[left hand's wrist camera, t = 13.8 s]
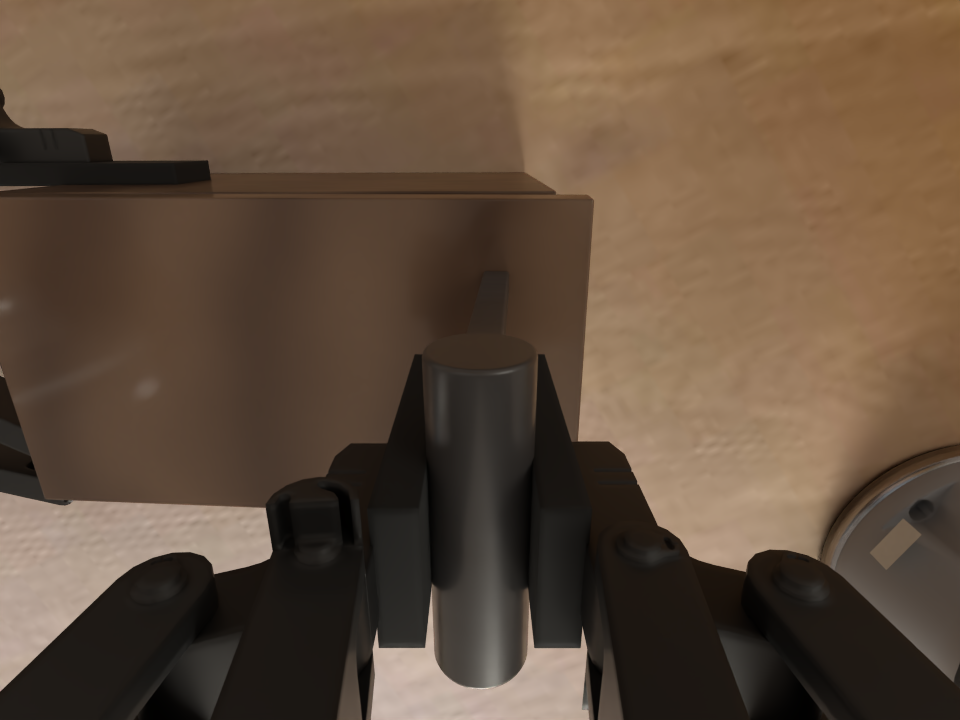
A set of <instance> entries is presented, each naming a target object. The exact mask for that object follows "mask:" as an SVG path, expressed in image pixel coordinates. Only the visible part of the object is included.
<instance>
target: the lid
mask: <svg viewBox="0 0 960 720" xmlns="http://www.w3.org/2000/svg"><path fill="white" fill-rule="evenodd" d="M593 208H594V200H593V199H592V198H591V197H590V196H588V195H473V194H108V193H0V365H1V368H2V371H3V374H4V377H5V380H6V383H7V386H8V389H9V392H10V395H11V398H12V401H13V404H14V407H15V410H16V413H17V416H18V419H19V422H20V425H21V428H22V431H23V434H24V437H25V440H26V443H27V446H28V449H29V452H30V455H31V458H32V461H33V464H34V467H35V470H36V473H37V476H38V479H39V482H40V485H41V488H42V491H43V494H44V497H45V499H53V500H79V501H105V502H130V503H156V504H182V505H207V506H233V507H259V508H266V506H265V504H266V503H267V501H268V500H269V499H270V497H271V496H272V495H273V494H274V493H275V492H277V491H278V490H280V489H282V488H283V487H285V486H286V485H289V484H291V483H294V482H297V481H300V480H302V479H308V478H315V477H326V475H327V474H328V470H329V468H330V466H331V464H332V462H333V459H334V457H335V456H336V455H337V454H338V453H339V452H341V451H342V450H343V449H344V448H346V447H347V446H348V445H349V444H351V443H388V439H389V436H390V433H391V430H392V426H393V423H394V420H395V417H396V413H397V410H398V407H399V404H400V400H401V397H402V394H403V391H404V387H405V384H406V381H407V378H408V374H409V371H410V368H411V365H412V361H413V358H414V355H415V354H422V373H423V396H424V419H425V442H426V457H427V472H428V497H429V522H430V546H431V571H432V605H433V628H434V651H435V657H436V661H437V663H438V665H439V667H440V668H441V670H442V671H443V672H444V674H445V675H446V676H447V677H448V678H449V679H451V680H452V681H454V682H455V683H457V684H459V685H461V686H464V687H467V688H471V689H490V688H494V687H498V686H500V685H503V684H505V683H507V682H508V681H510V680H511V679H512V678H513V677H514V676H516V675H517V673H518V672H519V671H520V669H521V668H522V666H523V665H524V662H525V660H526V656H527V646H528V618H529V593H528V572H529V546H530V520H531V493H532V467H533V458H534V453H535V427H536V400H537V373H538V354H545V357H546V360H547V364H548V367H549V370H550V373H551V377H552V380H553V383H554V386H555V390H556V393H557V396H558V399H559V403H560V406H561V409H562V412H563V416H564V419H565V422H566V425H567V428H568V432H569V435H570V438H571V441H572V442H578V430H579V415H580V400H581V386H582V371H583V356H584V341H585V327H586V312H587V297H588V282H589V267H590V253H591V238H592V223H593Z"/></svg>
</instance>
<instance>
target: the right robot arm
mask: <svg viewBox="0 0 960 720" xmlns="http://www.w3.org/2000/svg"><path fill="white" fill-rule="evenodd" d="M4 104H5V97H4V95H3V92H2V90H1V89H0V186H57V185H178V184H185V183H192V182H199V181H206V180H211V176H210V170H209V164H208V161H113V159H112V155H111V151H110V146H109V142H108V137H107V135H106V134H104V133H101V132H99V131H96V130H93V129H74V128H22V127H20V126H18V125H17V124H15V123H14V122H13V121H12V120H11V119H10V118H9V117H8V115H7V114H6V112H5V111H4V109H3V106H4ZM0 492H3V493H8V494H12V495H17V496H21V497H26V498H30V499H35V500H39V501H44V502H48V503H53V504H57V505H68V504H70V503H71V502H72V501H74V500H53V499H45V497H44V494H43V491H42V488H41V485H40V482H39V479H38V476H37V473H36V470H35V467H34V464H33V461H32V458H31V455H30V452H29V449H28V446H27V443H26V440H25V437H24V434H23V431H22V428H21V425H20V422H19V419H18V416H17V413H16V410H15V407H14V404H13V401H12V398H11V395H10V392H9V389H8V386H7V383H6V380H5V378H3V377H1V376H0Z"/></svg>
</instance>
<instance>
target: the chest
mask: <svg viewBox="0 0 960 720" xmlns="http://www.w3.org/2000/svg"><path fill="white" fill-rule="evenodd" d="M210 176H211V180H206V181H199V182H192V183H185V184H178V185H57V186H47V187H37V188H28V189H18V190H8V191H0V193H108V194H473V195H556V191H554V190H553V189H551V188H549V187H548V186H546V185H545V184H543V183H541V182H540V181H538V180H536V179H535V178H533V177H532V176H530V175H528V174H527V173H524V172H502V173H211V174H210Z"/></svg>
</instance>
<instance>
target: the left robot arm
mask: <svg viewBox="0 0 960 720" xmlns="http://www.w3.org/2000/svg"><path fill="white" fill-rule="evenodd" d="M265 506H266V512H267V518H268V524H269V531H270V537H271V543H272V549H273V552H272V555H271V557H270V559H268V560H266V561H264V562H262V563H259V564H255V565H252V566H249V567H245V568H240V569H236V570H232V571H227V572H223V573H218V574H214V572H213V568H212V564H211V563H210V562H209V561H208V560H207V559H206V558H205V557H204V556H202V555H198V554H195V553H191V552H182V553H170V554H166V555H162V556H158V557H154V558H152V559H149V560H147V561H145V562H143V563H141V564H139V565H137V566H135V567H133V568H132V569H130V570H129V571H128V572H126V573H125V574H124V575H122V576H121V577H120V578H118V579H117V580H116V581H115V582H114V583H113V584H112V585H111V586H110V587H109V588H108V589H107V590H106V591H105V592H103V593H102V594H101V595H100V596H99V597H98V598H97V599H96V600H95V601H94V602H93V603H92V604H91V605H90V606H89V607H88V608H87V609H86V610H85V611H84V612H83V613H82V614H81V615H80V616H79V617H77V618H76V619H75V620H74V621H73V622H72V623H71V624H70V625H69V626H68V627H67V628H66V629H65V630H64V631H63V632H62V633H61V634H60V635H59V636H58V637H57V638H56V639H55V640H54V641H53V642H51V643H50V644H49V645H48V646H47V647H46V648H45V649H44V650H43V651H42V652H41V653H40V654H39V655H38V656H37V657H36V658H35V659H34V660H33V661H32V662H31V663H30V664H29V665H28V666H27V667H25V668H24V669H23V670H22V671H21V672H20V673H19V674H18V675H17V676H16V677H15V678H14V679H13V680H12V681H11V682H10V683H9V684H8V685H7V686H6V687H5V688H4V689H3V690H2V691H1V692H0V720H371V710H372V699H373V688H374V678H375V672H374V661H373V650H372V649H373V645H374V640H375V635H376V630H377V631H378V643H379V648H425V643H426V633H427V624H428V615H429V606H430V596H431V587H432V571H431V546H430V522H429V497H428V472H427V457H426V442H425V419H424V396H423V373H422V354H415V355H414V358H413V361H412V365H411V368H410V371H409V374H408V378H407V381H406V384H405V387H404V391H403V394H402V397H401V400H400V404H399V407H398V410H397V413H396V417H395V420H394V423H393V426H392V430H391V433H390V436H389V439H388V443H351V444H349V445H348V446H347V447H346V448H344V449H343V450H342V451H341V452H339V453H338V454H337V455H336V456H335V457H334V459H333V462H332V464H331V466H330V468H329V470H328V474H327V475H326V477H315V478H308V479H302V480H300V481H297V482H294V483H291V484H289V485H286V486H285V487H283V488H282V489H280V490H278V491H277V492H275V493H274V494H273V495H272V496H271V497H270V499H269V500H268V501H267V503H266V504H265ZM528 593H529V602H530V611H531V620H532V629H533V639H534V648H581V636H582V626H583V630H584V635H585V640H586V645H587V649H588V650H587V661H586V672H585V683H584V694H583V705H582V710H589V720H960V445H957V446H952V447H947V448H943V449H939V450H935V451H932V452H929V453H926V454H923V455H920V456H918V457H915V458H913V459H911V460H908V461H906V462H904V463H902V464H900V465H898V466H896V467H894V468H893V469H891V470H889V471H888V472H886V473H884V474H883V475H881V476H880V477H879V478H877V479H876V480H874V481H873V482H872V483H870V484H869V485H868V486H867V487H866V488H864V489H863V490H862V491H861V492H860V493H859V494H858V495H857V496H856V497H855V498H854V499H853V500H852V501H851V502H850V503H849V504H848V505H847V506H846V508H845V509H844V510H843V511H842V513H841V514H840V515H839V517H838V518H837V520H836V521H835V523H834V525H833V526H832V528H831V530H830V532H829V534H828V536H827V538H826V541H825V544H824V547H823V550H822V554H821V560H820V561H818V560H816V559H814V558H812V557H809V556H807V555H804V554H800V553H796V552H792V551H788V550H767V551H764V552H760V553H757V554H755V555H754V556H753V557H752V558H751V559H750V560H749V561H748V565H747V569H746V572H743V571H739V570H734V569H730V568H725V567H721V566H716V565H712V564H709V563H705V562H702V561H698V560H696V559H694V558H692V557H690V556H689V554H688V551H687V549H686V548H685V546H684V545H683V543H682V542H681V540H680V539H679V538H677V537H676V536H675V535H673V534H672V533H671V532H669V531H668V530H666V529H664V528H662V527H659V526H658V525H657V523H656V521H655V519H654V516H653V514H652V512H651V510H650V508H649V506H648V504H647V501H646V499H645V497H644V495H643V493H642V491H641V489H640V486H639V485H637V480H636V478H635V476H634V474H633V472H631V467H630V465H629V463H628V461H627V459H626V456H625V454H624V453H622V452H621V451H620V450H619V449H617V448H616V447H615V446H614V445H612V444H611V443H610V442H572V441H571V438H570V435H569V432H568V428H567V425H566V422H565V419H564V416H563V412H562V409H561V406H560V403H559V399H558V396H557V393H556V390H555V386H554V383H553V380H552V377H551V373H550V370H549V367H548V364H547V360H546V357H545V354H538V373H537V400H536V427H535V453H534V458H533V467H532V493H531V520H530V546H529V572H528Z"/></svg>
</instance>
